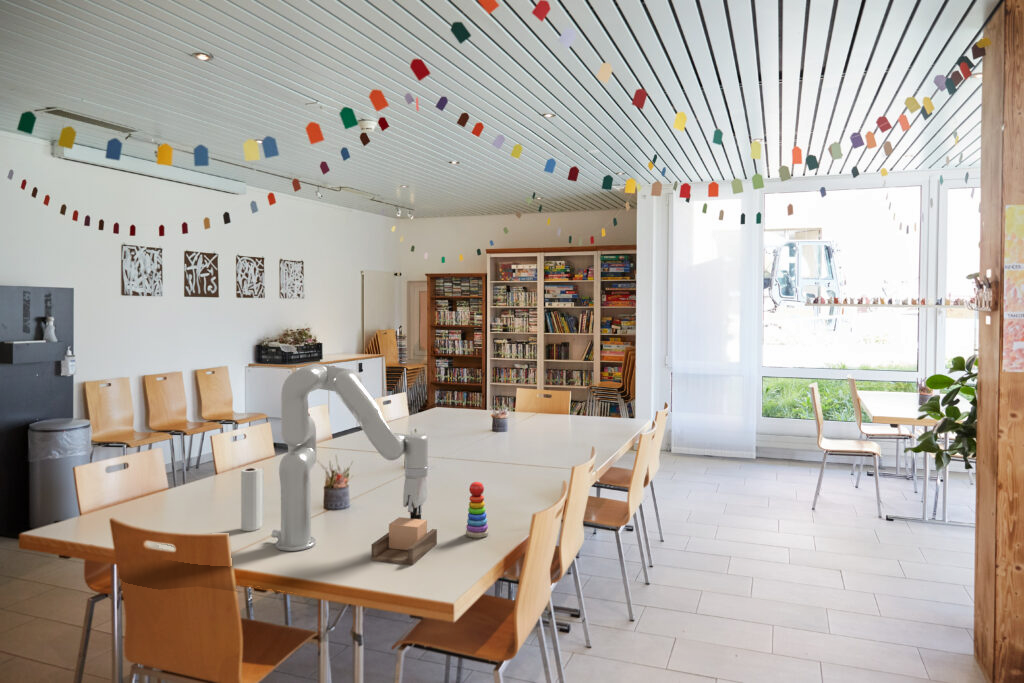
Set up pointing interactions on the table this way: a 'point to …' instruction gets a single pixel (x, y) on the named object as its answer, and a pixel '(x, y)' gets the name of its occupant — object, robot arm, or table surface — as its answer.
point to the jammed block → (406, 532)
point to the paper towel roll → (252, 499)
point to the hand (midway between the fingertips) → (415, 525)
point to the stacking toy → (476, 513)
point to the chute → (409, 556)
